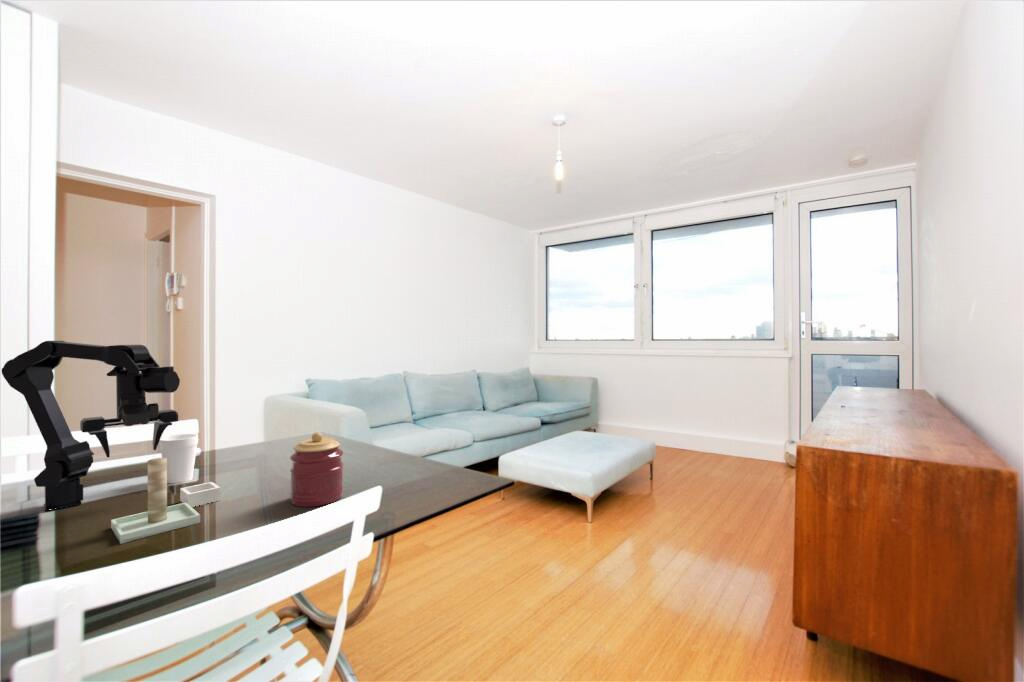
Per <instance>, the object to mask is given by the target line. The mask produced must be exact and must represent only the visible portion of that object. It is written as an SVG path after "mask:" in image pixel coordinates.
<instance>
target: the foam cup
mask: <svg viewBox="0 0 1024 682" xmlns="http://www.w3.org/2000/svg"><path fill="white" fill-rule="evenodd" d="M198 444H199V434H197V433H179V434H171V435H167V436H163V437H161V438H160V441H159V443H158V445H159V449H160V452H161V453H160V454H161V458H167V484H180V482H181V483H185V481H186V482H188V480H189V481H191V480H192V479H193V476H194V468H195V464H196V463H195V462H196V457H197V456H196V455H197V448H198Z"/></svg>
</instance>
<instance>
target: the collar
mask: <svg viewBox="0 0 1024 682" xmlns="http://www.w3.org/2000/svg"><path fill="white" fill-rule="evenodd" d="M179 492H180V497H179V498H180V501H181V502H182V503H185V502H186V503H187V504H189V505H190V506H191V507H192V508H195V506H196V507H199V505H200V506H205V505H208V504H207V503H209V504H212V503H211V502H213V503H216V501H217V502H220V501H221V487H220V486H219V485H217V484H216V483H214V482H213V481H210V482H209V481H208V482H204V483H200V484H196V485H190V486H185V487H180V488H179ZM181 502H180V503H181Z"/></svg>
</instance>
